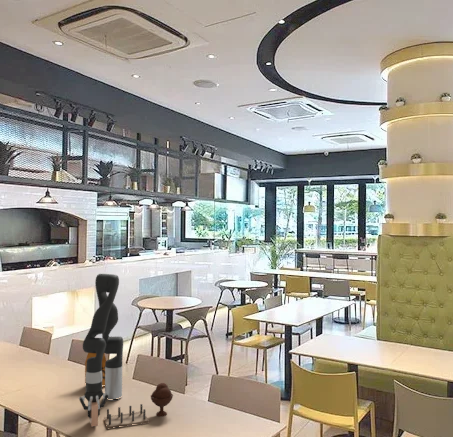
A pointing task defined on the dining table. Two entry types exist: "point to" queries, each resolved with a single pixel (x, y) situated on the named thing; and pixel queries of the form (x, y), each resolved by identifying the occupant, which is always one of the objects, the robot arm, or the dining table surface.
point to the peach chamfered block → (94, 414)
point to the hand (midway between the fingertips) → (93, 416)
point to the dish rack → (125, 418)
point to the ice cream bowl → (161, 398)
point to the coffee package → (102, 366)
